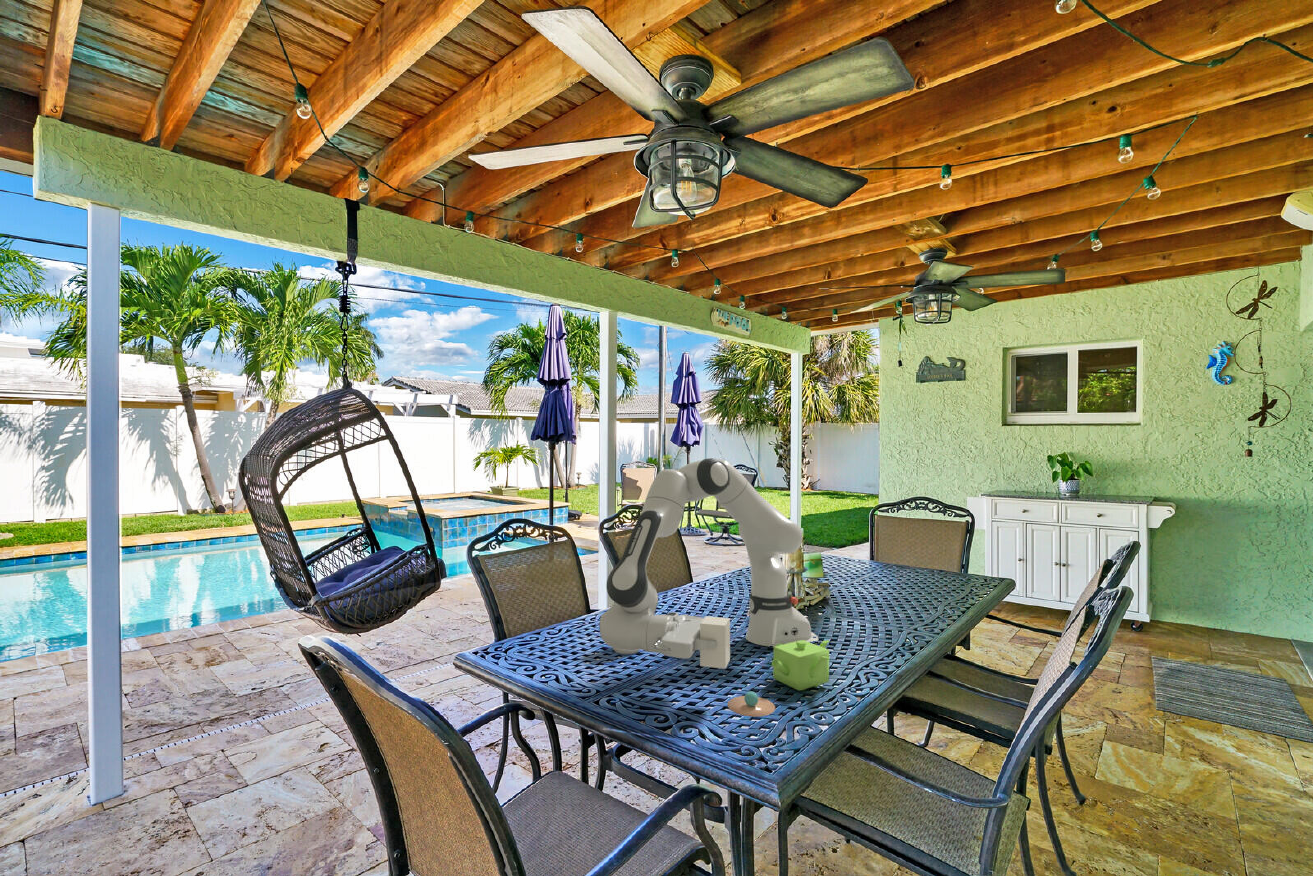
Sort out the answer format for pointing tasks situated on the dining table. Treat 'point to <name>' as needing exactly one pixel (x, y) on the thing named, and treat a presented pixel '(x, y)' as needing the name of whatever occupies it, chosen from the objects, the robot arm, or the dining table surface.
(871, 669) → the dining table surface
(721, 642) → the tall cream pillar
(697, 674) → the dining table surface
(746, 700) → the ball
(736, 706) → the coaster
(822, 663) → the kettle
